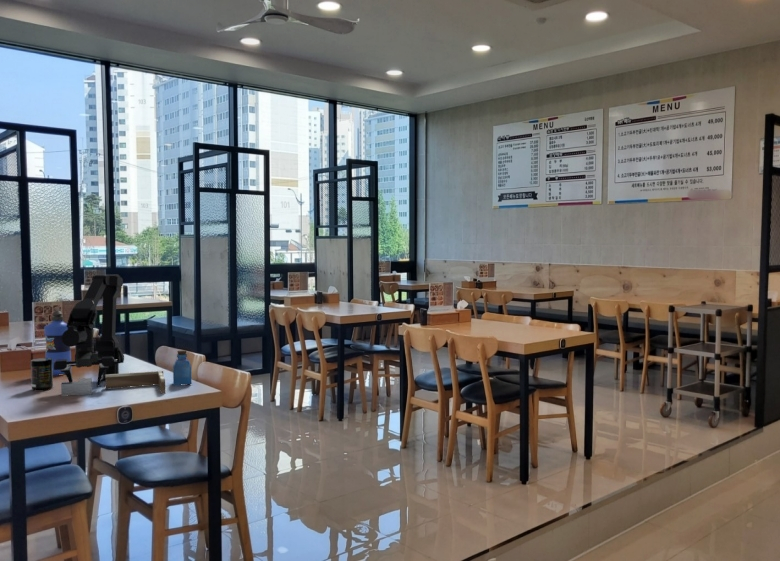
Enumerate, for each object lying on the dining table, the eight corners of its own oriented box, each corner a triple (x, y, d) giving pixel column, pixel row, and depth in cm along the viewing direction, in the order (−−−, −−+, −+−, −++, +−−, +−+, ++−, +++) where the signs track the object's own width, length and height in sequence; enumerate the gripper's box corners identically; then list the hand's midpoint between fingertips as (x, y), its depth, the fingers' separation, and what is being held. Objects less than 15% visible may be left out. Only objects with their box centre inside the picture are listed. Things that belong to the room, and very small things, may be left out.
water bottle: (54, 376, 251) (53, 312, 250) (40, 374, 256) (38, 311, 255) (76, 372, 259) (75, 310, 258) (62, 370, 264) (61, 309, 263)
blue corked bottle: (191, 384, 233) (191, 351, 232) (173, 386, 231) (172, 352, 231) (191, 381, 239) (190, 349, 238) (173, 382, 237) (173, 350, 236)
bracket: (63, 391, 223) (63, 379, 223) (92, 389, 226) (91, 377, 226) (61, 396, 214) (61, 384, 214) (91, 394, 218) (91, 382, 218)
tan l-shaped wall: (105, 388, 228) (105, 374, 227) (163, 383, 235) (163, 370, 235) (105, 398, 211) (104, 383, 211) (167, 393, 219) (167, 379, 218)
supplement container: (57, 388, 229) (56, 358, 228) (40, 391, 222) (39, 361, 222) (44, 386, 231) (43, 357, 231) (27, 390, 225) (26, 360, 225)
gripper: (51, 347, 211) (53, 394, 212) (113, 344, 219) (114, 389, 219) (54, 343, 222) (55, 388, 222) (113, 340, 229) (114, 384, 230)
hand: (85, 387), depth 223 cm, fingers open, 8 cm apart
